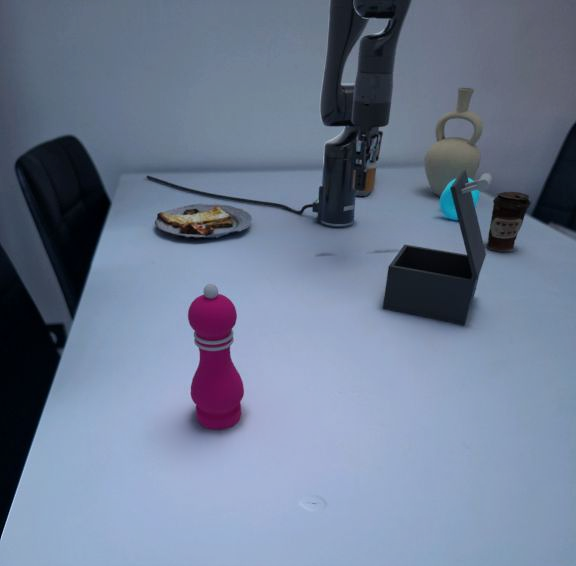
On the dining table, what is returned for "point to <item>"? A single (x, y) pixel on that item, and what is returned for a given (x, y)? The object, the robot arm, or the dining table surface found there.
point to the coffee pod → (368, 176)
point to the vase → (453, 147)
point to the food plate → (203, 220)
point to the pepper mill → (215, 361)
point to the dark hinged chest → (430, 284)
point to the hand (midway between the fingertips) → (363, 186)
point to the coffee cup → (507, 220)
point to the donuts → (448, 203)
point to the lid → (470, 217)
